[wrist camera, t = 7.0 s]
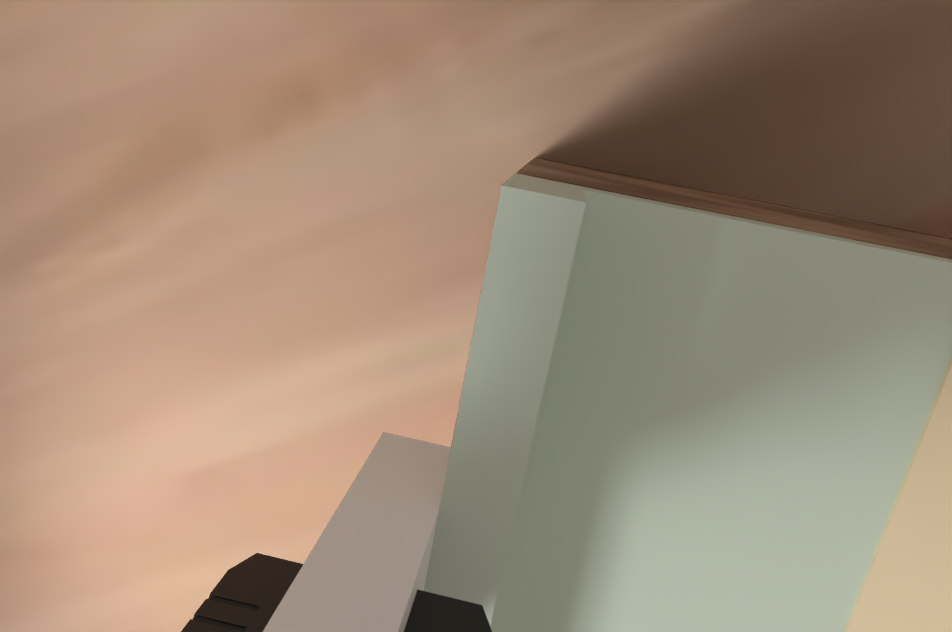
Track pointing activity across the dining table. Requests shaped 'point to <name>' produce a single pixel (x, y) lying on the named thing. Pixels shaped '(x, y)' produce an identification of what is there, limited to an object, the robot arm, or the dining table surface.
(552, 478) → the lid
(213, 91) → the dining table surface
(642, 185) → the crate
